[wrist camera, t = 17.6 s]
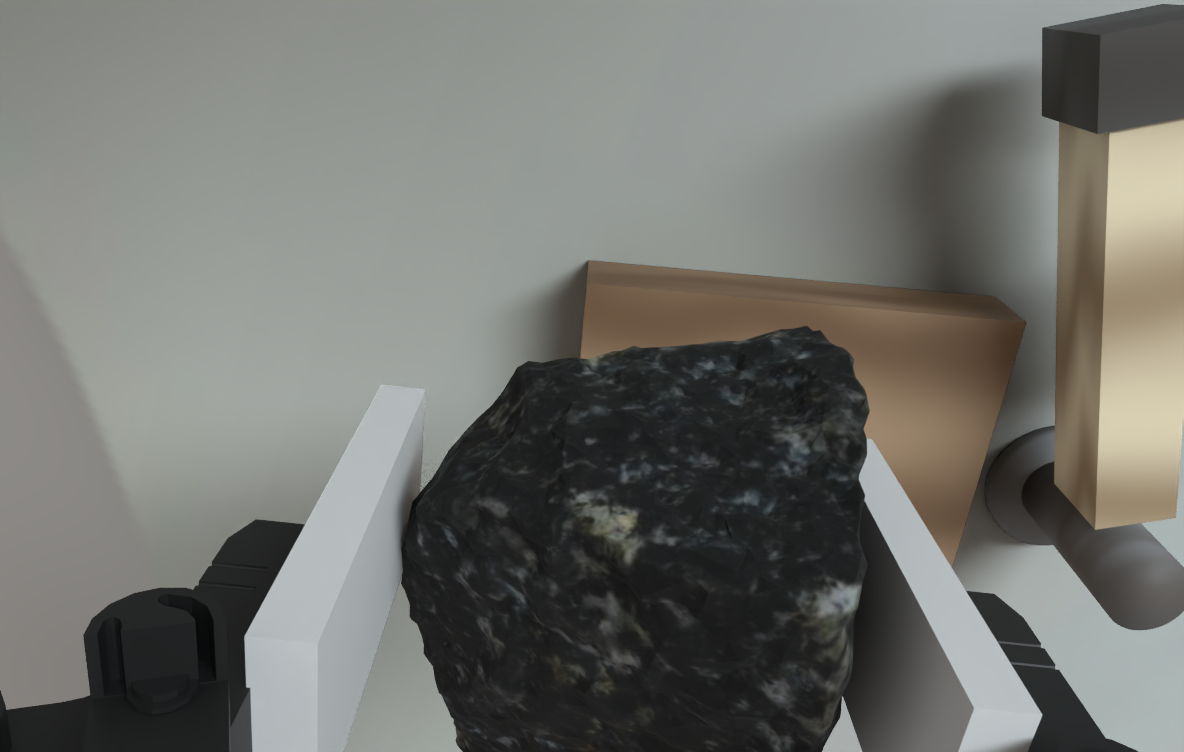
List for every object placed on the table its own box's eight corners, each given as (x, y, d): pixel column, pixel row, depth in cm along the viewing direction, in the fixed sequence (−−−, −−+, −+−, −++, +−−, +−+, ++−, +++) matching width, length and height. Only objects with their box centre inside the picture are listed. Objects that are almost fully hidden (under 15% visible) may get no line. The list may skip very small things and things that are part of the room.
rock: (444, 781, 19) (389, 1091, 14) (399, 317, 15) (298, 495, 10) (780, 775, 19) (858, 1082, 14) (822, 311, 15) (956, 485, 10)
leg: (1136, 467, 31) (1193, 519, 28) (1039, 482, 31) (1085, 535, 28) (1162, 3, 25) (1237, 8, 22) (1042, 27, 25) (1100, 35, 22)
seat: (588, 260, 31) (584, 333, 25) (1178, 313, 31) (1320, 397, 25) (558, 595, 36) (548, 723, 30) (1057, 635, 37) (1149, 769, 31)
